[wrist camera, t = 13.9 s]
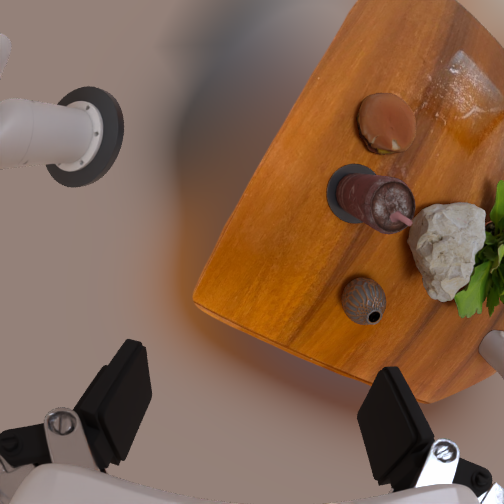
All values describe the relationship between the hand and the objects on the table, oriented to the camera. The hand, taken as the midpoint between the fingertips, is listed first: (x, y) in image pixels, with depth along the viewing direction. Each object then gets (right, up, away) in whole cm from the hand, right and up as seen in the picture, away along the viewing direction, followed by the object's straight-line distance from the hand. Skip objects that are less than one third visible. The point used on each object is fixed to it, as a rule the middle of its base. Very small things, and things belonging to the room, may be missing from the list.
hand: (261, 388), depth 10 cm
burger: (+19, +24, +26) cm, 41 cm away
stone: (+31, +8, +31) cm, 45 cm away
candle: (+61, -18, +37) cm, 74 cm away
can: (+15, +14, +29) cm, 36 cm away
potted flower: (+46, +7, +30) cm, 56 cm away
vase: (+17, -1, +34) cm, 38 cm away
